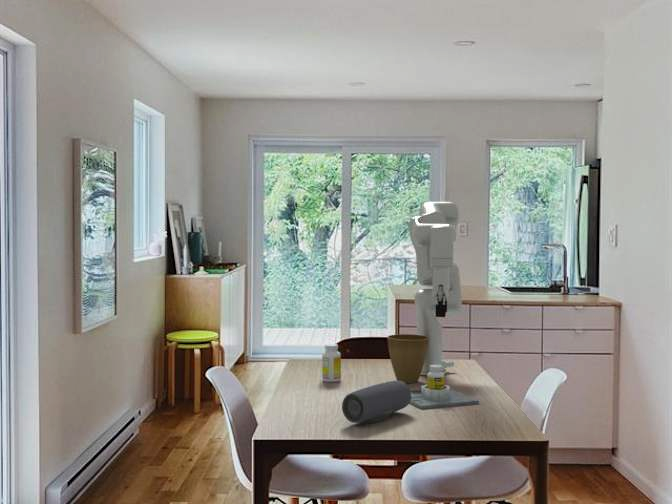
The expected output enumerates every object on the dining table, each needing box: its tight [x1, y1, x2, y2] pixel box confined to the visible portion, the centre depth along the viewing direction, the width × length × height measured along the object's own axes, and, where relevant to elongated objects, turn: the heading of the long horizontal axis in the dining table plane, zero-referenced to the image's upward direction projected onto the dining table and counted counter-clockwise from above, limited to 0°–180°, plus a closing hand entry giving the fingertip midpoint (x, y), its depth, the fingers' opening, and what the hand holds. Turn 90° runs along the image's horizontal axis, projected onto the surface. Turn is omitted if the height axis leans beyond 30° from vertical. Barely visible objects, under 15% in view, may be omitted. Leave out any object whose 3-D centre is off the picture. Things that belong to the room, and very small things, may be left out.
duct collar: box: [409, 384, 480, 410], centre depth 250 cm, size 20×20×4 cm
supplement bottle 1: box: [321, 343, 342, 383], centre depth 280 cm, size 7×7×13 cm
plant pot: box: [386, 333, 429, 384], centre depth 278 cm, size 15×15×16 cm
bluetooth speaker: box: [341, 380, 411, 424], centre depth 226 cm, size 23×9×10 cm, turn 141°
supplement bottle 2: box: [426, 365, 445, 389], centre depth 250 cm, size 5×5×10 cm
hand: (441, 314), depth 259 cm, fingers open, 9 cm apart
